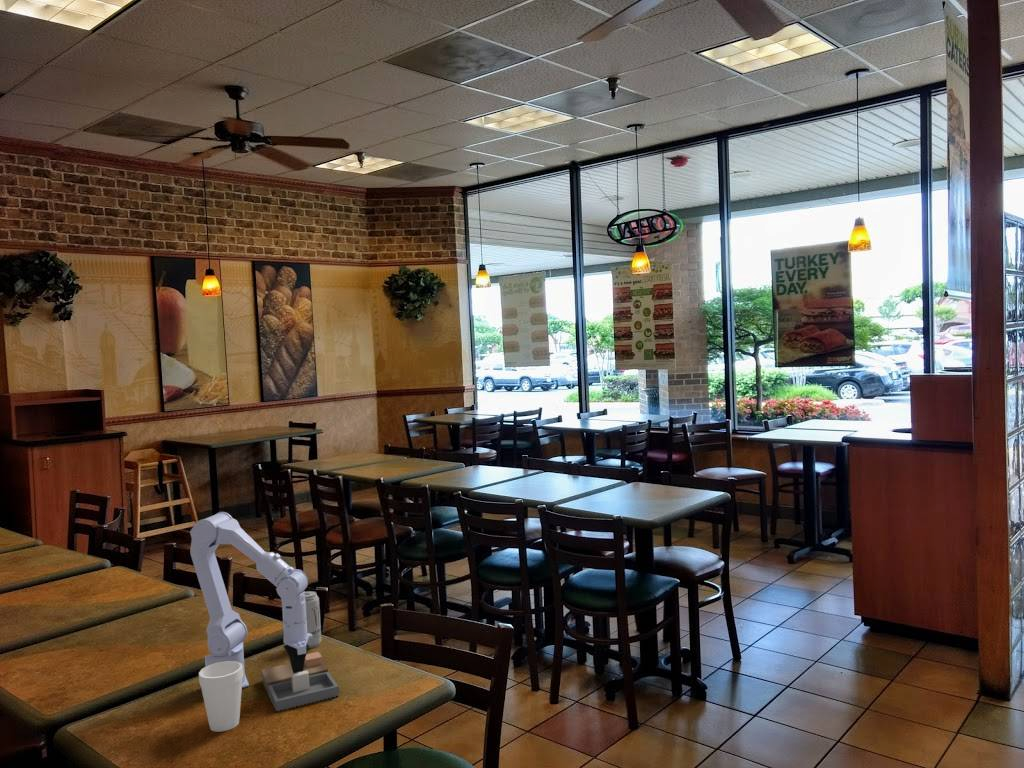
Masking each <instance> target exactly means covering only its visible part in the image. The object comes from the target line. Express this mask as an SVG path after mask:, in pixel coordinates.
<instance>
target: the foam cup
mask: <svg viewBox="0 0 1024 768" xmlns="http://www.w3.org/2000/svg"><path fill="white" fill-rule="evenodd" d="M243 676H244V675H243V665H242V664H241V663H240V662H237V661H224V662H217V663H214V664H211V665H208V666H206V667H205V666H204V667H203V668H201V669H200V671H199V672H198V681H199V685H200V687H201V688H200V689H201V693H202V698H203V703H204V706H205V712H206V717H207V720H208V726H209V729H210V731H212V732H217V733H218V732H220V733H221V732H225V731H229V730H231V729H234V728H236V727H237V726H238V725H239V723H240V718H241V717H240V715H241V707H242V706H241V705H242V692H243V691H242V689H243V688H242V678H243Z"/></svg>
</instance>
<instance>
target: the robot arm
mask: <svg viewBox="0 0 1024 768" xmlns="http://www.w3.org/2000/svg"><path fill="white" fill-rule="evenodd" d="M189 534H190V537H191V543H190V550H189V551H190V552H189V553H190V557H191V560H192V564H193V566H194V571H195V574H196V576H197V580H198V583H199V586H200V589H201V592H202V595H203V599H204V602H205V606H206V608H207V612H208V616H209V621H208V625H207V627H206V630H205V631H206V634H207V641H206V642H207V643H206V644H207V646H206V647H207V649H208V651H209V652H210V654H207V655H205V656H204V663H205V664H204V665H205V666H204V667H206V666H208V665H211V664H214V663H217V662H224V661H237V662H240V663H241V664H242V665H243V675H244V676H243V678H242V689H243V688H247V687H249V685H250V684H249V681H248V678H247V676H246V671H245V670H246V669H245V657H244V656H245V654H244V641H245V640H246V639H247V636H248V627H247V626H246V624H245V623H244V622H243V621H242V618H241V616H240V614H239V613H238V612H236V611H234V610H233V609H232V605H231V602H230V599H229V596H228V593H227V589H226V585H225V583H224V579H223V576H222V573H221V569H220V566H219V563H218V560H217V556H216V550H217V549H218V547H219V546H220V545H232V546H233V547H234V548H236V550H238V551H239V552H241V553H242V554H244V555H245V556H246V557H247V558H249V559H250V560H252V561H253V562H254V563H255V565H256V571H257V572H259V574H261V575H262V576H263V577H264V578H265V579H267V580H268V581H269V582H270V583H271V584H273V586H274V587H276V588H275V590H276V593H277V595H278V596H279V597H280V599H281V608H282V609H281V611H282V612H281V613H282V625H283V626H282V627H283V629H282V630H283V639H282V641H283V644H285V645H283V648H284V650H285V651H286V653H287V655H288V659H289V662H290V663H291V667H292V670H293V673H298V672H302V671H303V669H304V662H305V657H306V654H308V652H309V651H310V648H309V646H308V645H307V641H308V639H309V638H312V634H311V633H307V620H306V602H305V592H306V591H305V590H306V589H307V587H308V584H309V579H308V576H307V575H306V573H305V572H304V571H303V570H302V569H296V568H294V567H293V566H290V565H289V564H288V563H287V562H286V561H284V560H283V559H282V558H281V557H282V556H281V555H280V553H278V552H276V553H275V552H274V551H270V552H269V551H265V550H264V549H263V548H262V547H261V546H260V545H259V544H258V543H257V542H256V541H255V540H254V539H253V538H252V537H251V536H250V535H249V534H248V533H246V531H245V530H244V529H243V528H242V527H241V526H240V523H239V522H238V520H237V519H235V518H233V516H232V515H230V514H229V513H228V512H225V511H219V512H217V513H216V514H214V515H211V516H209V517H206V518H203V519H200V520H198V521H196V522H195V524H194V525H193V527H192V528H191V529H190V531H189Z"/></svg>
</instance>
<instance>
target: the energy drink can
mask: <svg viewBox="0 0 1024 768" xmlns="http://www.w3.org/2000/svg"><path fill="white" fill-rule="evenodd" d="M305 602H306V620H307V633H311V634H312V638H309V639H308V641H307V645H308V646H309V649H312V648H316V647H318V646H320V643H321V642H322V629H321V628H322V626H321V609H320V597H319V596H318V595H317V592H316V591H312V590H311V591H310V590H308V591H305Z"/></svg>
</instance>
